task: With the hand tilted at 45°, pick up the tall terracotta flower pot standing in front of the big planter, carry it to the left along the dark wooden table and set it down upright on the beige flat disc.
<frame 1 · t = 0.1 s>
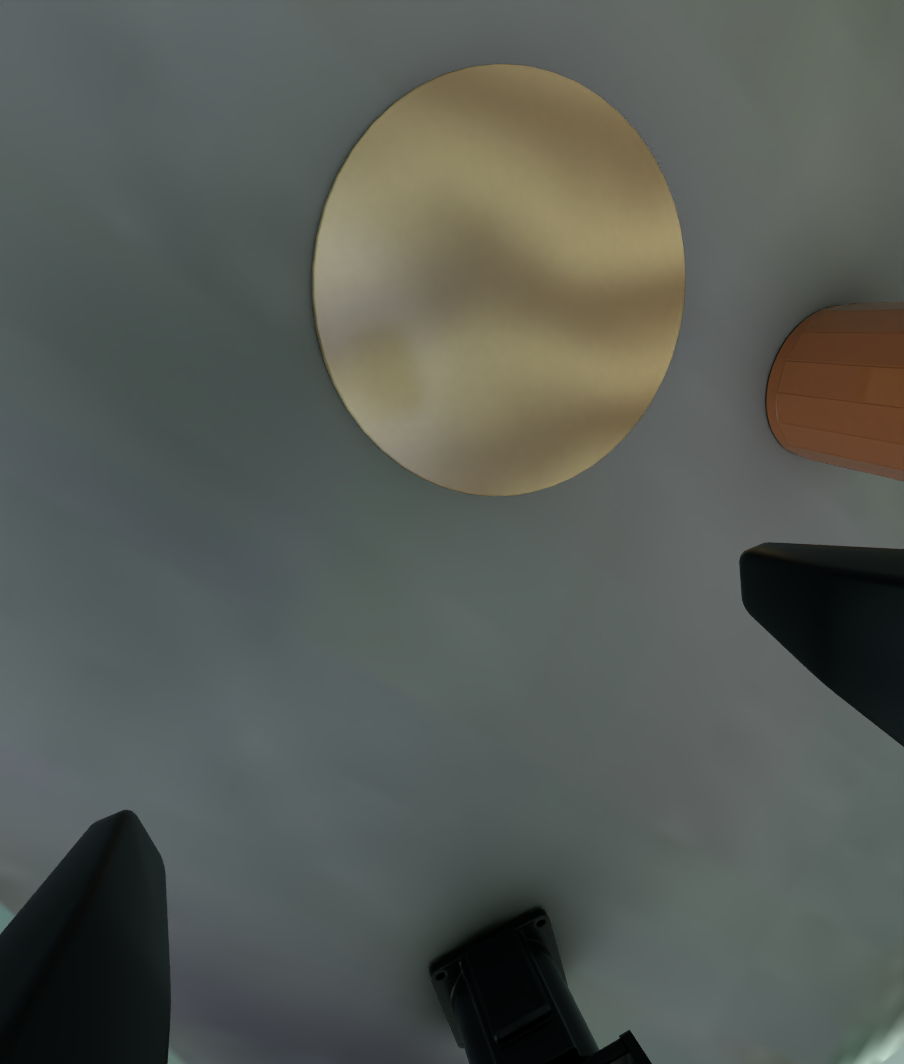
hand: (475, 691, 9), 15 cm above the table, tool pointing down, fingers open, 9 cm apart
beige flat disc: (512, 302, 22), on the table
terracotta pot: (825, 384, 28), on the table
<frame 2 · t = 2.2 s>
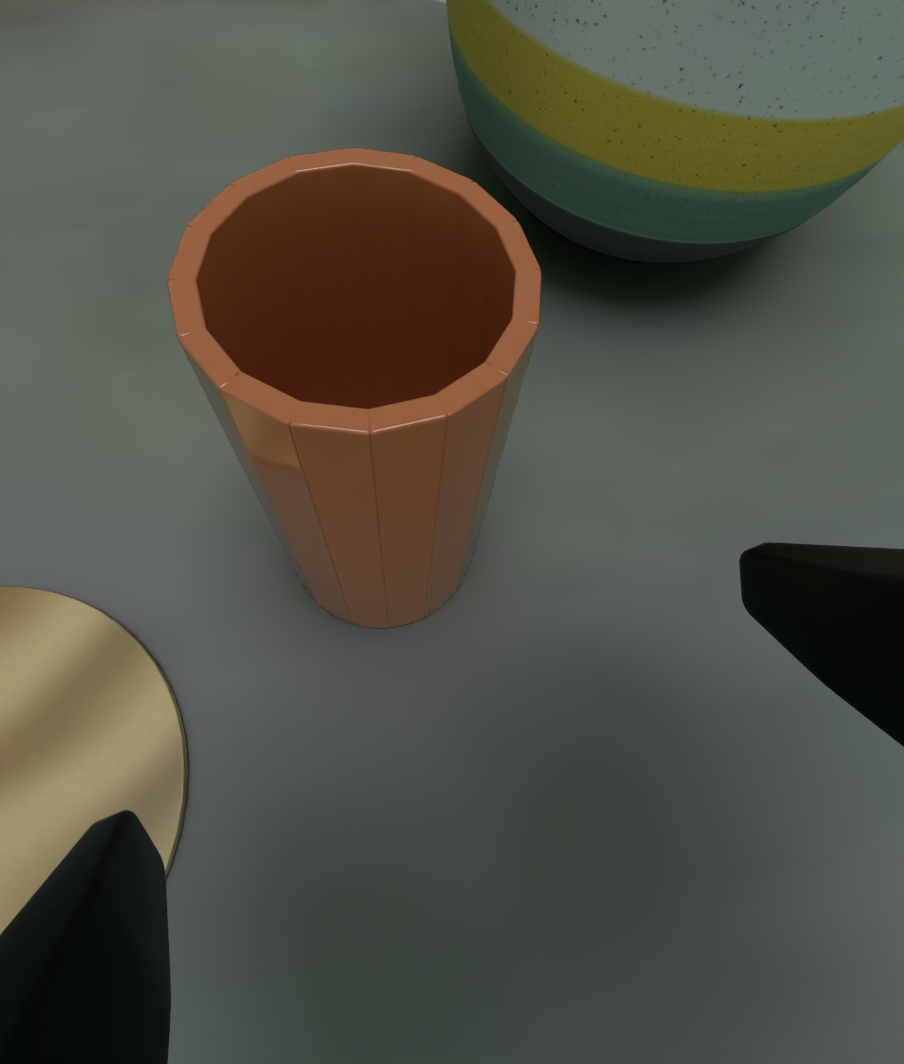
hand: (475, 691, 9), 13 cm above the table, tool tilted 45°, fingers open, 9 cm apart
planter: (620, 200, 31), on the table
terracotta pot: (383, 541, 23), on the table
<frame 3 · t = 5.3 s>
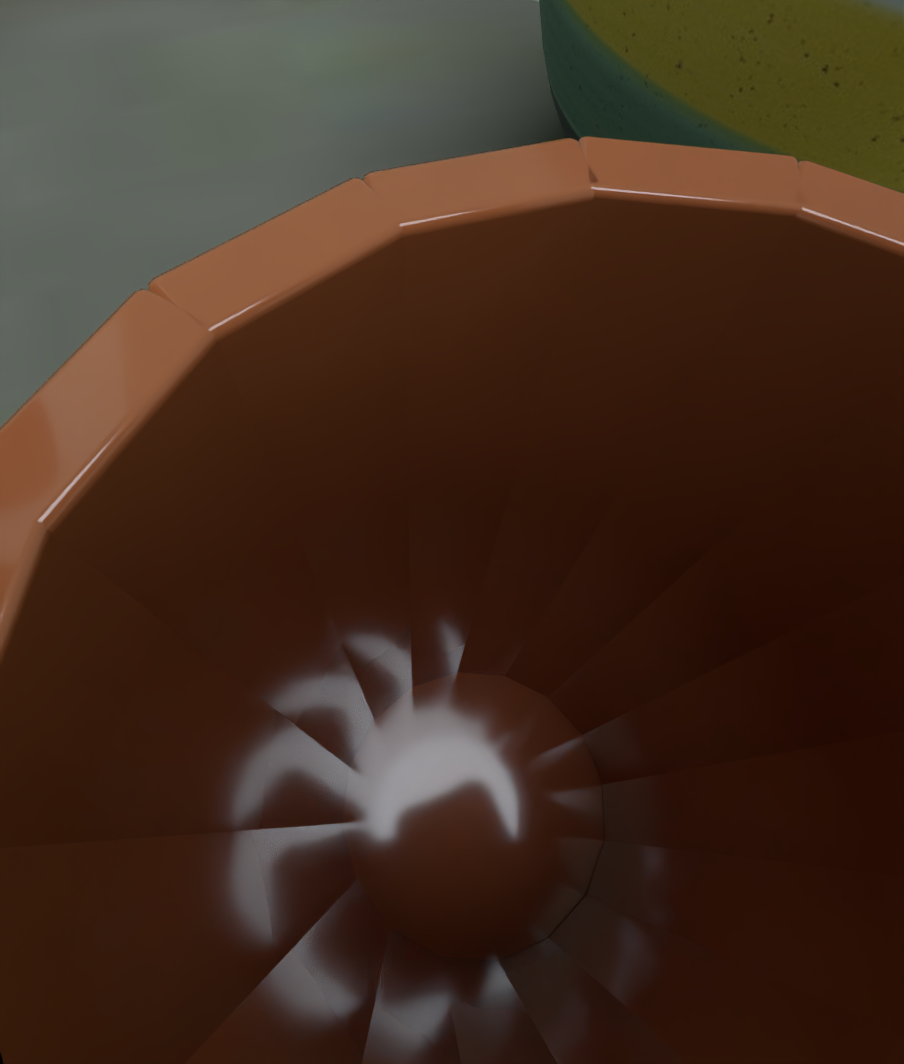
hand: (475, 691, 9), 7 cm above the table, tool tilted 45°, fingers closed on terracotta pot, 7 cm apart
planter: (749, 231, 23), on the table
terracotta pot: (472, 804, 14), on the table, touching gripper
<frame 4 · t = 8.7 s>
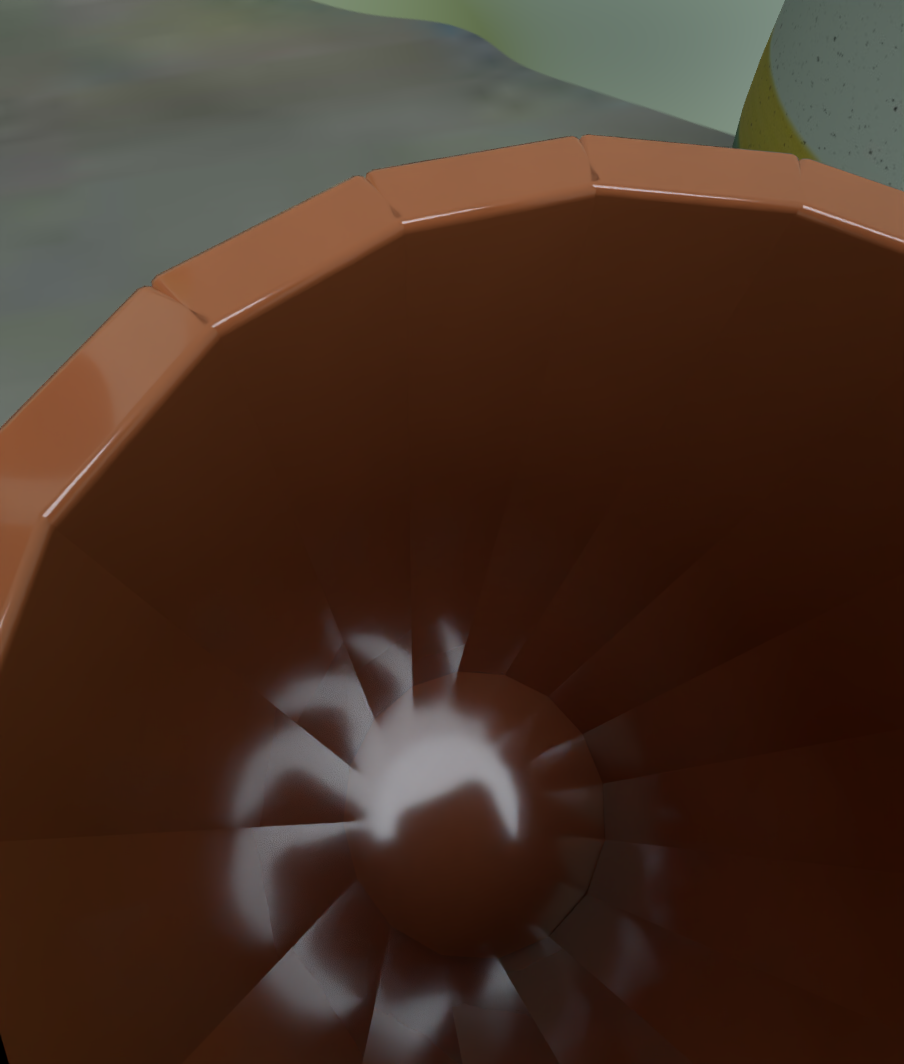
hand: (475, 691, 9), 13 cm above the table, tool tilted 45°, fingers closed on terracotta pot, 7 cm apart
planter: (850, 333, 30), on the table
terracotta pot: (473, 803, 14), point 7 cm above the table, touching gripper
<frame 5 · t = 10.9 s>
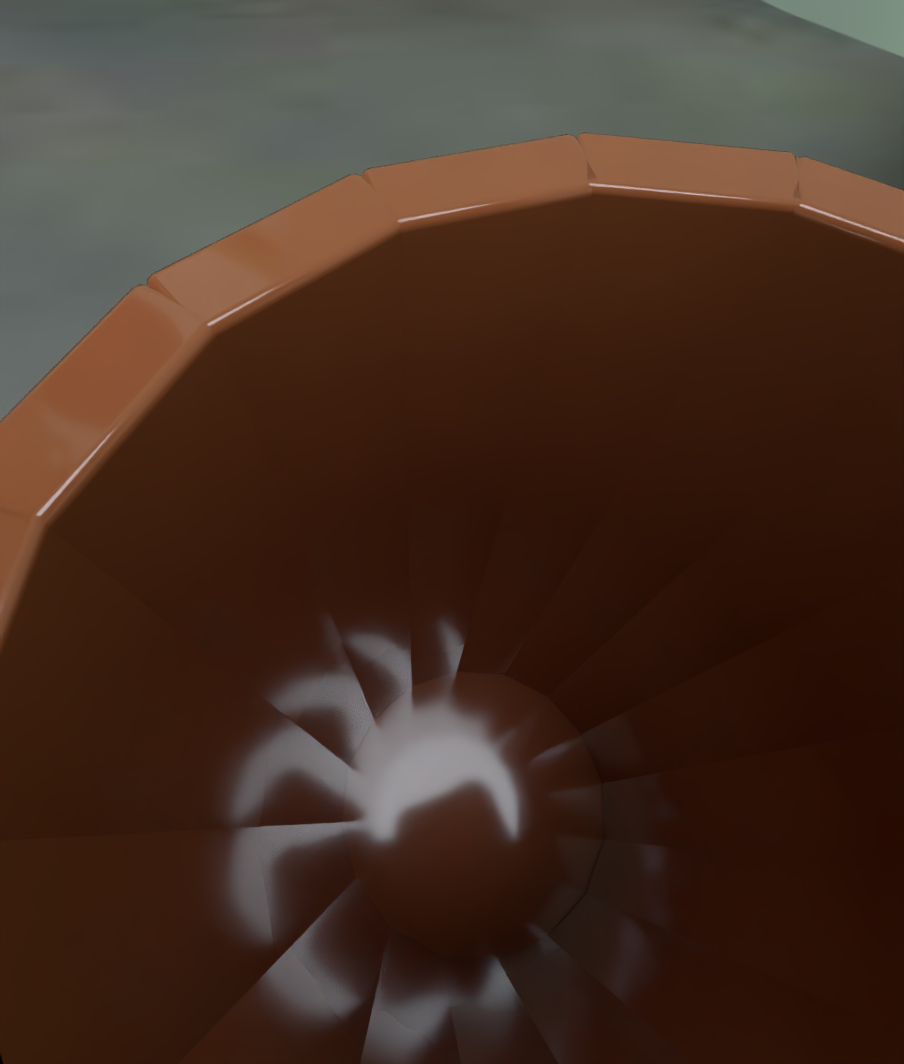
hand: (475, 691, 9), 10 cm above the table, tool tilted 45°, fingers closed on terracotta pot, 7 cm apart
terracotta pot: (472, 803, 14), point 4 cm above the table, touching gripper
when the fingers open (7 cm above the table, at t = 12.4 s): terracotta pot stays where it is, resting on beige flat disc.
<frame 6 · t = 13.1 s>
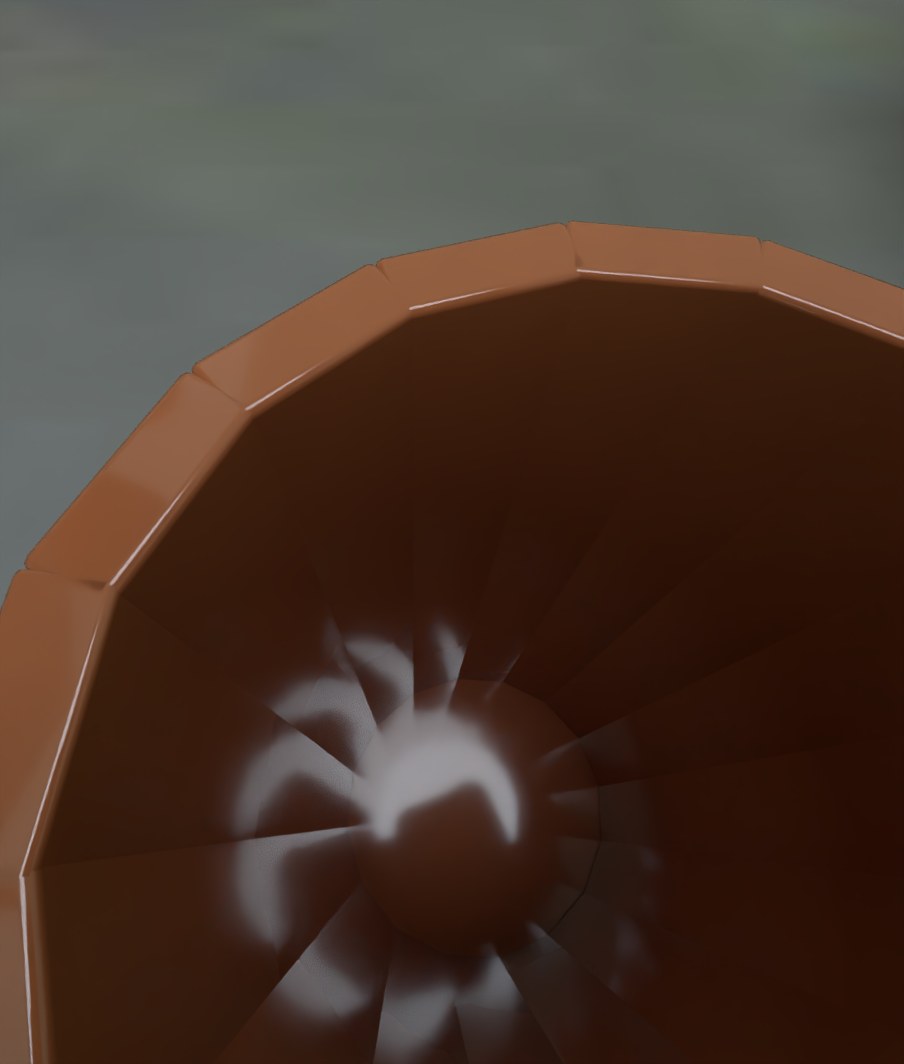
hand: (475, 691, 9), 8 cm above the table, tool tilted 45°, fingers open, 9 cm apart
terracotta pot: (473, 806, 14), resting on beige flat disc
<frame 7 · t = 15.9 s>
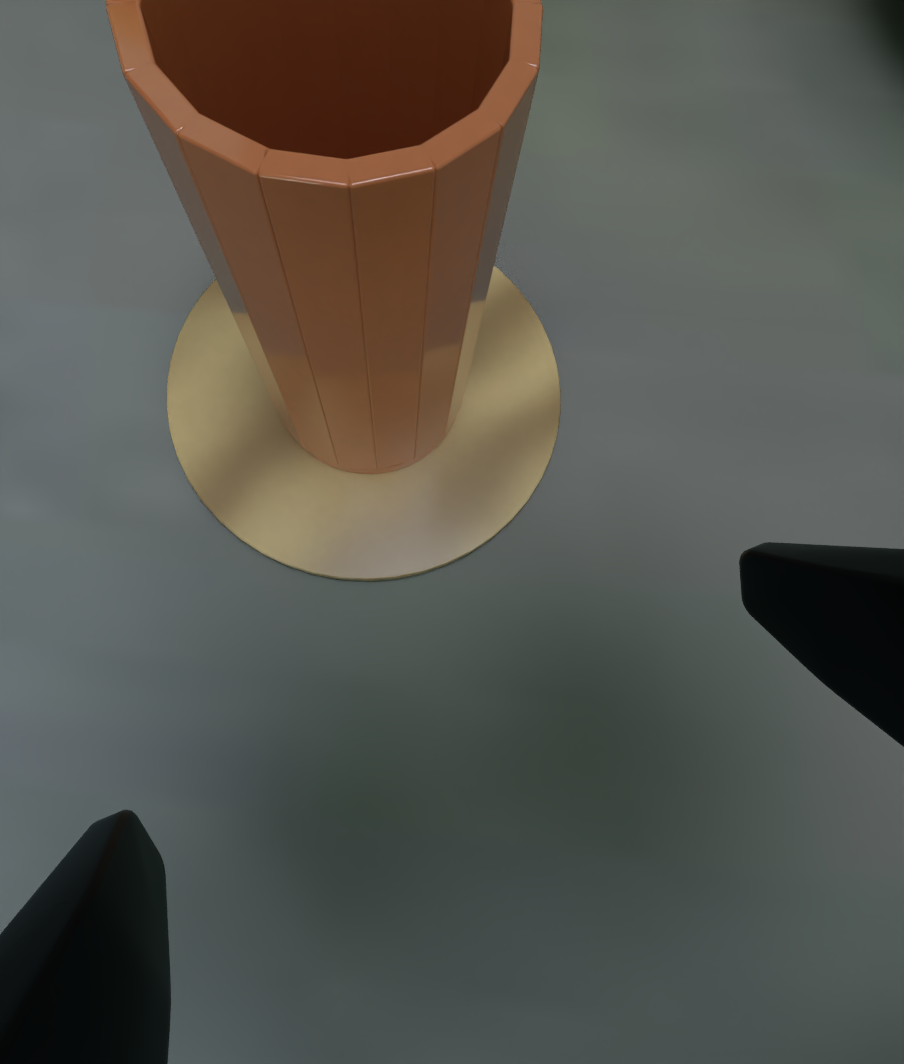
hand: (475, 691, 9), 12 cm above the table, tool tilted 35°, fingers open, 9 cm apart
beige flat disc: (369, 391, 23), on the table
terracotta pot: (369, 386, 22), resting on beige flat disc
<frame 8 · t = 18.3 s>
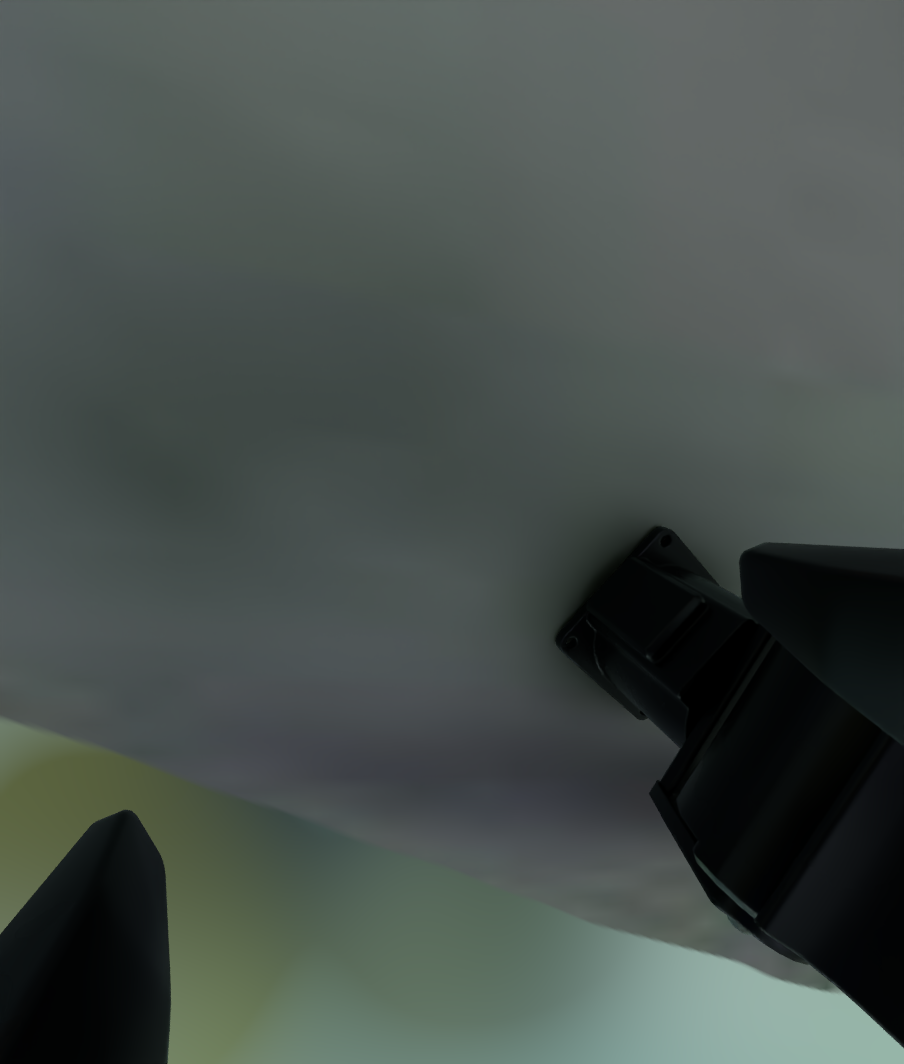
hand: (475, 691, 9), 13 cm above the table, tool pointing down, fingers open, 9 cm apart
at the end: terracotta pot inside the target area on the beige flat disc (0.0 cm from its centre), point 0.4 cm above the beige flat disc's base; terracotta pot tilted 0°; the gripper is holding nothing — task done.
